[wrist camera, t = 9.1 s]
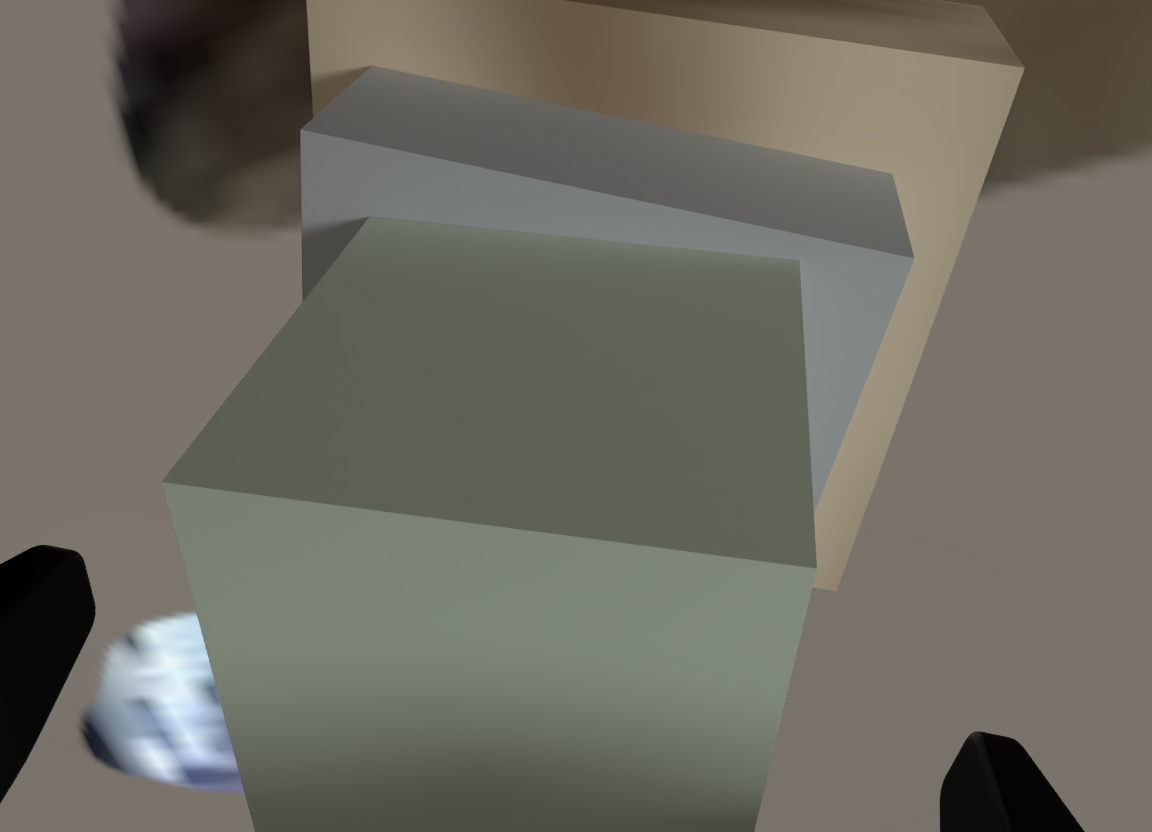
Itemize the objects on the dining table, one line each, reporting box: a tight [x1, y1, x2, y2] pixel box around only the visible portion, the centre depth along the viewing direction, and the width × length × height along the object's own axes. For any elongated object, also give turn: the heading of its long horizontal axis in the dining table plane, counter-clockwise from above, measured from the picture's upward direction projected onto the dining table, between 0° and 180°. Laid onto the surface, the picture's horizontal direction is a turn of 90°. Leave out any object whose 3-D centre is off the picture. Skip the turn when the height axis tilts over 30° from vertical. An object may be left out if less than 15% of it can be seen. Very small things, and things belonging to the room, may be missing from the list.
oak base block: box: [306, 0, 1024, 592], centre depth 16 cm, size 9×9×4 cm
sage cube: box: [162, 217, 817, 832], centre depth 11 cm, size 5×5×5 cm
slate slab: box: [300, 66, 915, 512], centre depth 14 cm, size 7×7×2 cm
